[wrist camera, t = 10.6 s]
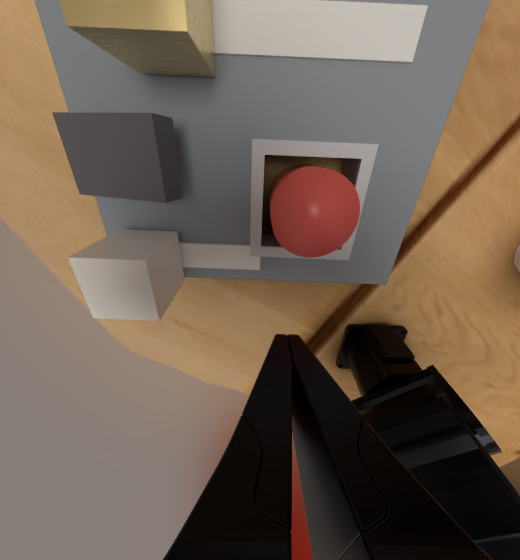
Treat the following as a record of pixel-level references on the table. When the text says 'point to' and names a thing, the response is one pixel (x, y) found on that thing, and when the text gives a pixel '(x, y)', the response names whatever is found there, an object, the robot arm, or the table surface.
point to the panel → (287, 122)
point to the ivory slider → (130, 274)
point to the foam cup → (517, 258)
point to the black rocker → (122, 155)
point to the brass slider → (149, 33)
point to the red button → (313, 210)
